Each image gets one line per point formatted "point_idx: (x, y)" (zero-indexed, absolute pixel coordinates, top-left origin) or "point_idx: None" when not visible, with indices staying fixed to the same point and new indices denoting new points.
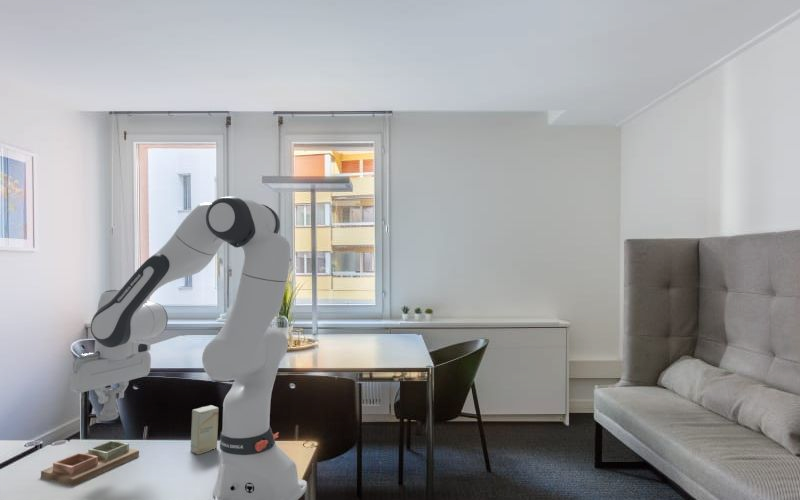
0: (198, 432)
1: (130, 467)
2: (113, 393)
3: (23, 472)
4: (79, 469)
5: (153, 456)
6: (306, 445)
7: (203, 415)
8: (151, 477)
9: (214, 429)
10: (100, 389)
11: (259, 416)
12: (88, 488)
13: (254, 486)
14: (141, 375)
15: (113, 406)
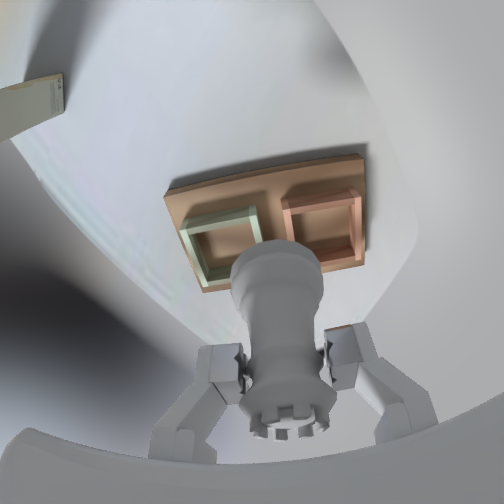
0: (20, 83)
1: (216, 132)
2: (293, 379)
3: (357, 298)
4: (333, 193)
5: (141, 155)
6: None
7: None
8: (213, 19)
9: None
10: (432, 409)
11: None
12: (348, 104)
13: None
14: (51, 448)
15: (276, 300)
